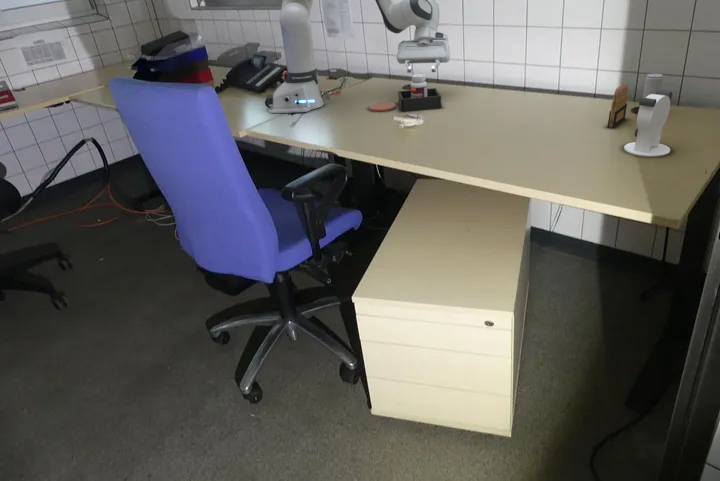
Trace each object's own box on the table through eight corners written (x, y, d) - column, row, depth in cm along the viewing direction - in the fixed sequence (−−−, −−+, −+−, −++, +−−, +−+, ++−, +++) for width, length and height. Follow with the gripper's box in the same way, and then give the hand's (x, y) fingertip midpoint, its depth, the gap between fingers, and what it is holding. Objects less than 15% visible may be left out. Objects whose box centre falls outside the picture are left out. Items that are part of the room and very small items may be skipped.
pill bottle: (409, 107, 207) (408, 77, 201) (413, 103, 212) (412, 73, 206) (425, 107, 205) (424, 77, 199) (429, 103, 210) (428, 73, 204)
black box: (401, 111, 203) (401, 99, 201) (398, 102, 214) (398, 91, 212) (441, 108, 203) (440, 96, 200) (435, 99, 214) (435, 88, 212)
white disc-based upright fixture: (636, 139, 158) (645, 87, 151) (678, 147, 150) (689, 92, 143) (616, 150, 152) (624, 96, 144) (658, 159, 144) (669, 102, 137)
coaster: (370, 112, 205) (369, 110, 205) (368, 105, 214) (368, 103, 213) (396, 110, 205) (396, 108, 204) (394, 103, 214) (394, 101, 213)
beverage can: (641, 114, 177) (648, 77, 172) (638, 110, 181) (645, 73, 176) (658, 114, 176) (665, 76, 170) (654, 110, 180) (661, 73, 175)
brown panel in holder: (618, 118, 176) (624, 80, 170) (624, 119, 175) (630, 81, 169) (607, 127, 169) (612, 88, 163) (613, 128, 168) (619, 89, 162)
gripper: (397, 36, 211) (392, 67, 208) (450, 33, 205) (446, 66, 202) (400, 45, 217) (396, 76, 213) (452, 44, 211) (448, 75, 208)
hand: (421, 71), depth 208 cm, fingers open, 8 cm apart
